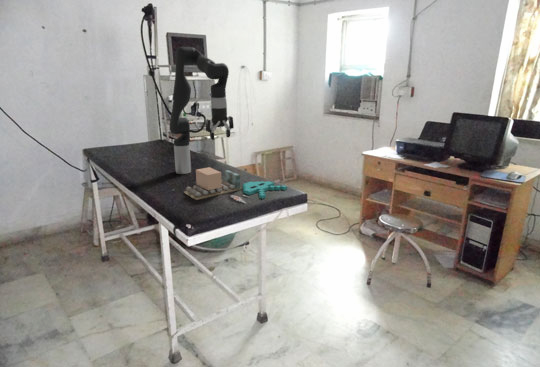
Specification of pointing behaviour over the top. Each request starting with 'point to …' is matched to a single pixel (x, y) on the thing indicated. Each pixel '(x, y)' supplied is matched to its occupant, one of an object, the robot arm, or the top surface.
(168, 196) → the top surface
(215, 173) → the tan cardboard box
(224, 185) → the roller track
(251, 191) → the alien figure
